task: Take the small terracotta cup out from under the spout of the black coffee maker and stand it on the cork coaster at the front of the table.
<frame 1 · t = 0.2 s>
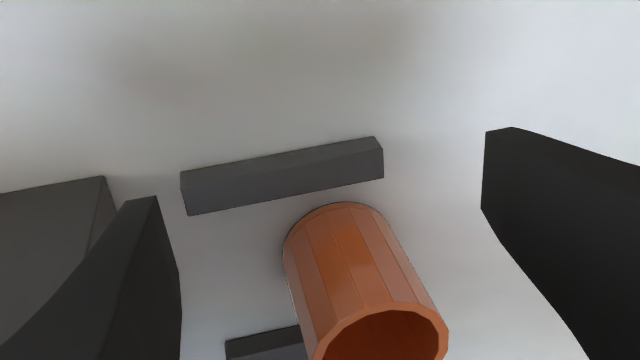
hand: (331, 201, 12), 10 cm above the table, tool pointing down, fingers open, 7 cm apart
coffee maker: (337, 249, 26), on the table
cup: (337, 249, 26), on the table
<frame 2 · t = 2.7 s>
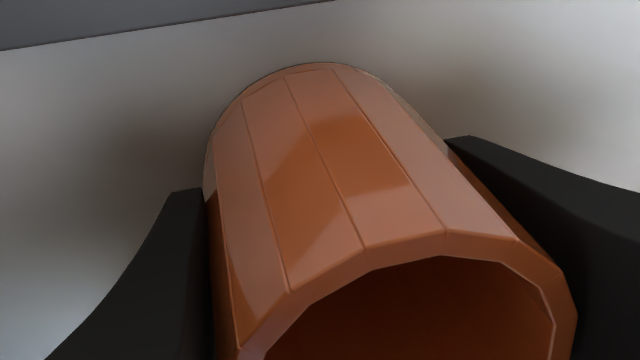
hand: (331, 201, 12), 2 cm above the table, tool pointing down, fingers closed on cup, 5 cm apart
coffee maker: (315, 166, 13), on the table
cup: (314, 166, 13), on the table, touching gripper
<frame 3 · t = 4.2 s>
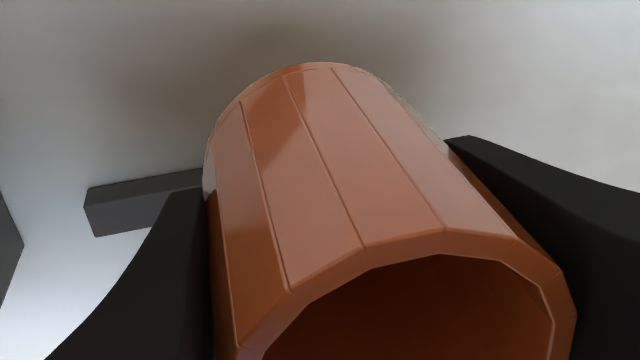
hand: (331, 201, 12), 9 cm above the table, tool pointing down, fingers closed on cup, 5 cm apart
coffee maker: (234, 50, 19), on the table
cup: (313, 166, 13), point 7 cm above the table, touching gripper
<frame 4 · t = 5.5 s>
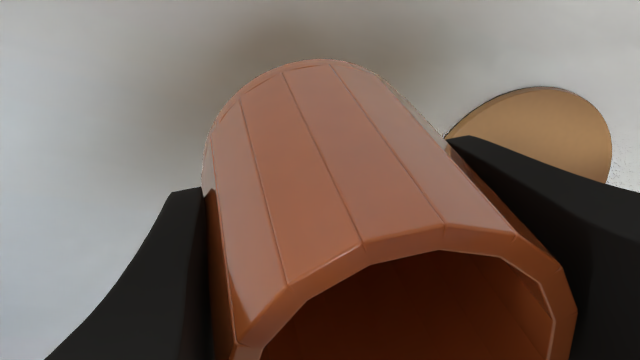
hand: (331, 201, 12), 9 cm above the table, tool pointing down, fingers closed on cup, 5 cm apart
coaster: (514, 181, 25), on the table
cup: (313, 163, 13), point 8 cm above the table, touching gripper
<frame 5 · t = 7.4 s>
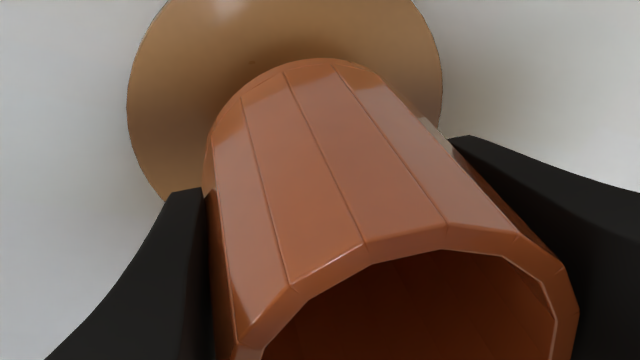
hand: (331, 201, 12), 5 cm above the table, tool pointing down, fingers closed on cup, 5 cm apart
coaster: (291, 113, 16), on the table
cup: (313, 163, 13), point 3 cm above the table, touching gripper
when the fingers open (2 cm above the table, at t = 8.7 s): cup stays where it is, resting on coaster.
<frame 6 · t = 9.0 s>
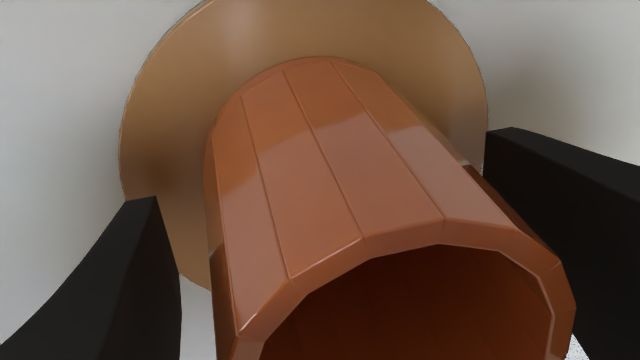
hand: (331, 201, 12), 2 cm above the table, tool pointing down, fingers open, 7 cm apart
coaster: (311, 157, 14), on the table
cup: (313, 161, 13), resting on coaster
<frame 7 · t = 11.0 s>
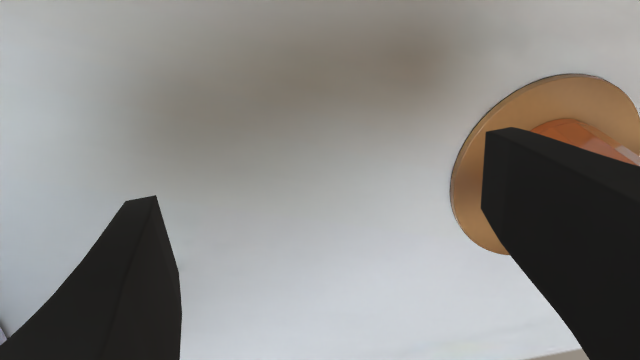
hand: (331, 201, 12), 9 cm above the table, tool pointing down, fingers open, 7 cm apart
coaster: (544, 169, 25), on the table
cup: (548, 172, 25), resting on coaster
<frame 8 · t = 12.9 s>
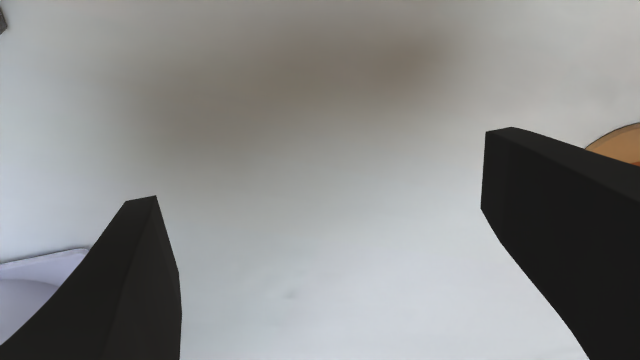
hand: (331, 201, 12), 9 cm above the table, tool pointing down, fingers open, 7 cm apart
coaster: (620, 205, 27), on the table
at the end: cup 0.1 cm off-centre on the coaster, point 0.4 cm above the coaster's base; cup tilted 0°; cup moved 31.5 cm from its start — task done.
